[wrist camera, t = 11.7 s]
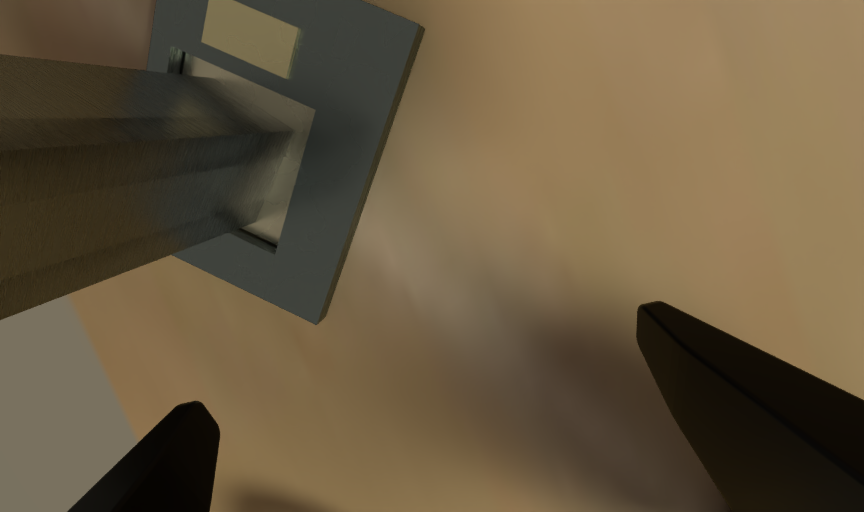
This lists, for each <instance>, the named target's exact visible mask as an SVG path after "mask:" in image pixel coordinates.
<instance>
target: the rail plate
mask: <svg viewBox="0 0 864 512" xmlns="http://www.w3.org/2000/svg"><path fill="white" fill-rule="evenodd" d="M424 31H425V28H423V27H422V26H421V25H419V24H417V23H415V22H412V21H410V20H408V19H405V18H403V17H400V16H398V15H396V14H393V13H391V12H388V11H386V10H383V9H381V8H379V7H376V6H374V5H371V4H369V3H367V2H364V1H362V0H156V7H155V14H154V21H153V28H152V35H151V42H150V49H149V56H148V63H147V70H146V71H154V72H163V73H172V74H181V75H190V76H199V77H208V78H214V79H216V80H217V81H219V82H220V83H222V84H224V85H225V86H227V87H228V88H230V89H231V90H233V91H234V92H236V93H238V94H239V95H241V96H242V97H244V98H245V99H247V100H248V101H250V102H252V103H253V104H255V105H256V106H258V107H259V108H261V109H262V110H264V111H266V112H267V113H269V114H270V115H272V116H273V117H275V118H276V119H278V120H280V121H281V122H283V123H284V124H286V125H287V126H289V127H290V128H292V129H294V130H295V133H294V135H293V137H292V140H291V142H290V144H289V147H288V149H287V151H286V153H285V156H284V158H283V160H282V163H281V165H280V167H279V169H278V172H277V174H276V176H275V179H274V181H273V183H272V185H271V188H270V190H269V192H268V195H267V197H266V199H265V201H264V204H263V206H262V208H261V211H260V213H259V215H258V217H257V220H256V222H255V223H252V224H250V225H247V226H245V227H242V228H239V229H237V230H234V231H231V232H229V233H226V234H224V235H221V236H218V237H216V238H213V239H211V240H208V241H205V242H203V243H200V244H198V245H195V246H192V247H190V248H187V249H184V250H182V251H179V252H177V253H174V254H171V255H173V256H175V257H177V258H179V259H181V260H183V261H185V262H187V263H189V264H191V265H194V266H196V267H198V268H200V269H202V270H204V271H206V272H208V273H210V274H212V275H214V276H216V277H218V278H220V279H222V280H225V281H227V282H229V283H231V284H233V285H235V286H237V287H239V288H241V289H243V290H245V291H247V292H249V293H251V294H253V295H255V296H258V297H260V298H262V299H264V300H266V301H268V302H270V303H272V304H274V305H276V306H278V307H280V308H282V309H284V310H286V311H289V312H291V313H293V314H295V315H297V316H299V317H301V318H303V319H305V320H307V321H309V322H311V323H313V324H315V325H317V324H318V323H319V322H321V321H322V320H323V319H324V318H325V317H326V314H327V311H328V308H329V306H330V303H331V300H332V297H333V294H334V291H335V288H336V285H337V282H338V280H339V277H340V274H341V271H342V268H343V265H344V262H345V259H346V256H347V254H348V251H349V248H350V245H351V242H352V239H353V236H354V233H355V230H356V228H357V225H358V222H359V219H360V216H361V213H362V210H363V207H364V204H365V202H366V199H367V196H368V193H369V190H370V187H371V184H372V181H373V178H374V176H375V173H376V170H377V167H378V164H379V161H380V158H381V155H382V152H383V150H384V147H385V144H386V141H387V138H388V135H389V132H390V129H391V126H392V124H393V121H394V118H395V115H396V112H397V109H398V106H399V103H400V101H401V98H402V95H403V92H404V89H405V86H406V83H407V80H408V77H409V75H410V72H411V69H412V66H413V63H414V60H415V57H416V54H417V51H418V49H419V46H420V43H421V40H422V37H423V34H424Z"/></svg>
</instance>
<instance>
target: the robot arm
mask: <svg viewBox="0 0 864 512" xmlns="http://www.w3.org/2000/svg"><path fill="white" fill-rule="evenodd" d="M636 337H637V342H638V345H639V348H640V350H641V352H642V354H643V356H644V358H645V360H646V362H647V364H648V367H649V369H650V371H651V373H652V375H653V377H654V379H655V381H656V383H657V385H658V387H659V389H660V391H661V394H662V396H663V398H664V400H665V402H666V404H667V406H668V408H669V410H670V412H671V414H672V416H673V417H674V419H675V421H676V422H677V424H678V426H679V427H680V429H681V431H682V432H683V434H684V435H685V437H686V439H687V440H688V442H689V443H690V445H691V447H692V448H693V450H694V451H695V453H696V455H697V456H698V458H699V459H700V461H701V463H702V464H703V466H704V467H705V469H706V470H707V472H708V474H709V475H710V477H711V478H712V480H713V482H714V483H715V485H716V486H717V488H718V490H719V491H720V493H721V494H722V496H723V498H724V499H725V501H726V502H727V504H728V506H729V507H730V509H731V510H732V512H864V400H863V399H861V398H859V397H857V396H854V395H852V394H850V393H848V392H846V391H844V390H842V389H840V388H838V387H836V386H834V385H832V384H830V383H828V382H826V381H824V380H822V379H820V378H818V377H816V376H814V375H812V374H809V373H807V372H805V371H803V370H801V369H799V368H797V367H795V366H793V365H791V364H789V363H787V362H785V361H783V360H781V359H779V358H777V357H775V356H773V355H771V354H769V353H767V352H765V351H762V350H760V349H758V348H756V347H754V346H752V345H750V344H748V343H746V342H744V341H742V340H740V339H738V338H736V337H734V336H732V335H730V334H728V333H726V332H724V331H722V330H720V329H718V328H715V327H713V326H711V325H709V324H707V323H705V322H703V321H701V320H699V319H697V318H695V317H693V316H691V315H689V314H687V313H685V312H683V311H681V310H679V309H677V308H675V307H673V306H671V305H668V304H666V303H664V302H662V301H655V302H650V303H646V304H642V305H640V306H639V307H638V311H637V331H636ZM219 441H220V430H219V426H218V424H217V423H216V421H215V420H214V418H213V417H212V416H211V414H210V413H209V411H208V410H207V409H206V407H205V406H204V405H203V403H201V402H199V401H192V402H187V403H183V404H180V405H177V406H176V407H175V408H174V409H173V410H172V411H171V412H170V413H169V414H168V415H166V416H165V417H164V418H163V419H162V420H161V421H160V422H159V423H158V424H157V425H156V426H155V427H154V428H153V429H152V430H151V431H150V432H149V433H148V434H147V435H146V436H145V437H144V438H143V439H142V440H141V441H140V442H139V443H138V444H137V445H136V446H135V447H133V448H132V449H131V450H130V451H129V452H128V453H127V454H126V455H125V456H124V457H123V458H122V459H121V460H120V461H119V462H118V463H117V464H116V465H115V466H114V467H113V468H112V469H111V470H110V471H109V472H108V473H107V474H105V475H104V476H103V477H102V478H101V479H100V480H99V481H98V482H97V483H96V484H95V485H94V486H93V487H92V488H91V489H90V490H89V491H88V492H87V493H86V494H85V495H84V496H83V497H82V498H81V499H80V500H79V501H78V502H77V503H76V504H75V505H73V506H72V507H71V508H70V509H69V510H68V511H67V512H209V511H210V505H211V499H212V492H213V485H214V478H215V470H216V463H217V456H218V448H219Z"/></svg>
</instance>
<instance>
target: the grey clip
mask: <svg viewBox="0 0 864 512" xmlns="http://www.w3.org/2000/svg"><path fill="white" fill-rule="evenodd" d="M294 133H295V130H294V129H292V128H290V127H289V126H287V125H286V124H284V123H283V122H281V121H280V120H278V119H276V118H275V117H273V116H272V115H270V114H269V113H267V112H266V111H264V110H262V109H261V108H259V107H258V106H256V105H255V104H253V103H252V102H250V101H248V100H247V99H245V98H244V97H242V96H241V95H239V94H238V93H236V92H234V91H233V90H231V89H230V88H228V87H227V86H225V85H224V84H222V83H220V82H219V81H217V80H216V79H214V78H208V77H199V76H190V75H181V74H172V73H163V72H154V71H145V70H136V69H127V68H118V67H109V66H100V65H91V64H82V63H73V62H64V61H55V60H46V59H37V58H28V57H19V56H10V55H1V54H0V320H2V319H4V318H7V317H9V316H12V315H15V314H17V313H20V312H23V311H25V310H28V309H31V308H33V307H36V306H38V305H41V304H44V303H46V302H49V301H51V300H54V299H56V298H59V297H62V296H64V295H67V294H70V293H72V292H75V291H77V290H80V289H83V288H85V287H88V286H91V285H93V284H96V283H98V282H101V281H104V280H106V279H109V278H111V277H114V276H117V275H119V274H122V273H124V272H127V271H130V270H132V269H135V268H138V267H140V266H143V265H145V264H148V263H151V262H153V261H156V260H158V259H161V258H164V257H166V256H169V255H171V254H174V253H177V252H179V251H182V250H184V249H187V248H190V247H192V246H195V245H198V244H200V243H203V242H205V241H208V240H211V239H213V238H216V237H218V236H221V235H224V234H226V233H229V232H231V231H234V230H237V229H239V228H242V227H245V226H247V225H250V224H252V223H255V222H256V220H257V217H258V215H259V213H260V211H261V208H262V206H263V204H264V201H265V199H266V197H267V195H268V192H269V190H270V188H271V185H272V183H273V181H274V179H275V176H276V174H277V172H278V169H279V167H280V165H281V163H282V160H283V158H284V156H285V153H286V151H287V149H288V147H289V144H290V142H291V140H292V137H293V135H294Z"/></svg>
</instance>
